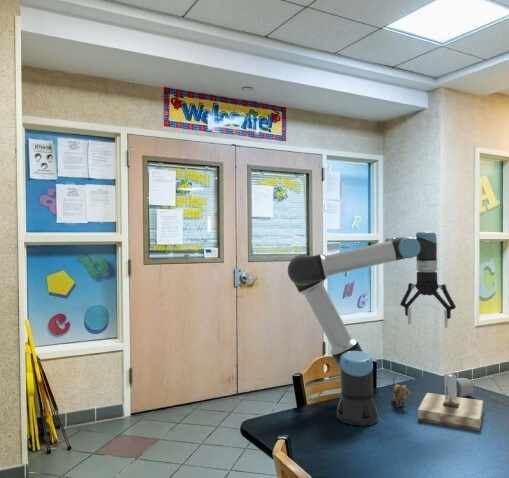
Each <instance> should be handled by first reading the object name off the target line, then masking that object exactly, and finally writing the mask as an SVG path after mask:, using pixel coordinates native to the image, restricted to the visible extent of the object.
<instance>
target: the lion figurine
mask: <svg viewBox="0 0 509 478" xmlns="http://www.w3.org/2000/svg"><path fill="white" fill-rule="evenodd" d="M392 391H393V393H392V394H393V395H392V402H395V407H396V408H399V407H400V404H401V407H403V408H404V407H406V405H405V400H406V398H407V397H410V395H411V393H412V392H411V391H410V390H409V389H408V388H407V386H406V385H405V384H404V385H403V384H402V385H400V384H398V383H397V384H395V385H393V390H392ZM399 401H401V403H400V404H399Z"/></svg>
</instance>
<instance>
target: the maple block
mask: <svg viewBox="0 0 509 478" xmlns="http://www.w3.org/2000/svg"><path fill="white" fill-rule="evenodd" d="M483 414H484V400H481V399H475V398H474V399H473V398H467V397H457V408H452V407H445V394H439V393H433V392H431V393H430V392H426V394H425V396H424V398H423V399H422V401H421V404H420V405H419V407H418V409H417V419H418V421H419V422H426V423H430V424H431V423H432V424H437V425H443V426H448V427H454V428H460V429H467V430H472V431H479V432H480V431H481V426H482V421H483V416H484V415H483Z"/></svg>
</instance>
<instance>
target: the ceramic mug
mask: <svg viewBox="0 0 509 478" xmlns="http://www.w3.org/2000/svg"><path fill="white" fill-rule="evenodd" d="M456 389H457V397H461V398H466V397H469V396H472V394H473V393H474V391H475V386H474V383H473V382H472V381H471V380H470V379H469V378H465V377H459V378H458V377H456Z"/></svg>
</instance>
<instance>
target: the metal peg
mask: <svg viewBox="0 0 509 478" xmlns="http://www.w3.org/2000/svg"><path fill="white" fill-rule="evenodd" d="M456 378H457V375H456V374H453V373H445V374H444V395H445V407H452V408H457V389H456Z"/></svg>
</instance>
